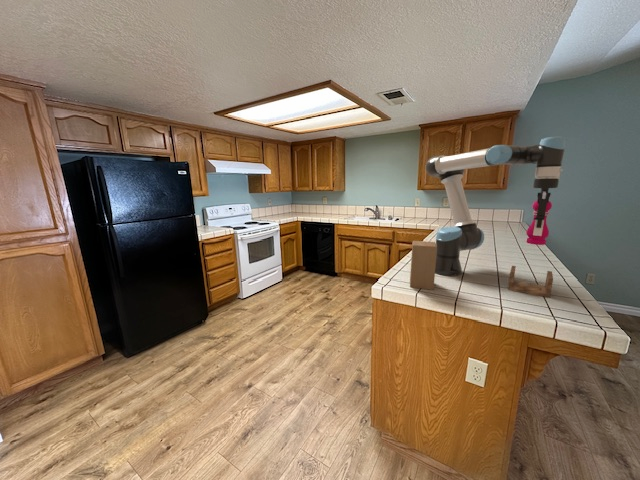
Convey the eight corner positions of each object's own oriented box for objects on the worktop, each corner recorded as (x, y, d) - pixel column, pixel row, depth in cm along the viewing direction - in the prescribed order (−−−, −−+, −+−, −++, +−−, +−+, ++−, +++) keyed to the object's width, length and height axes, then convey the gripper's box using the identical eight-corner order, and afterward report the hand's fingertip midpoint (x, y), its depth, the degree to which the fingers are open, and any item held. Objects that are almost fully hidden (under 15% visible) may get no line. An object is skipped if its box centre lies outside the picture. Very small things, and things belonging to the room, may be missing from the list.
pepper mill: (551, 245, 105) (560, 196, 100) (530, 245, 106) (539, 196, 102) (540, 241, 111) (548, 195, 107) (521, 241, 113) (528, 195, 109)
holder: (507, 289, 114) (510, 271, 112) (509, 281, 122) (512, 265, 120) (549, 297, 105) (553, 278, 103) (548, 289, 113) (551, 271, 111)
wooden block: (431, 282, 123) (435, 241, 119) (433, 290, 114) (437, 246, 110) (410, 279, 127) (412, 240, 122) (409, 287, 117) (412, 245, 113)
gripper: (560, 177, 93) (549, 239, 98) (557, 178, 108) (548, 231, 113) (534, 178, 98) (525, 236, 103) (534, 178, 113) (526, 229, 118)
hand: (537, 233), depth 108 cm, fingers closed on pepper mill, 7 cm apart
